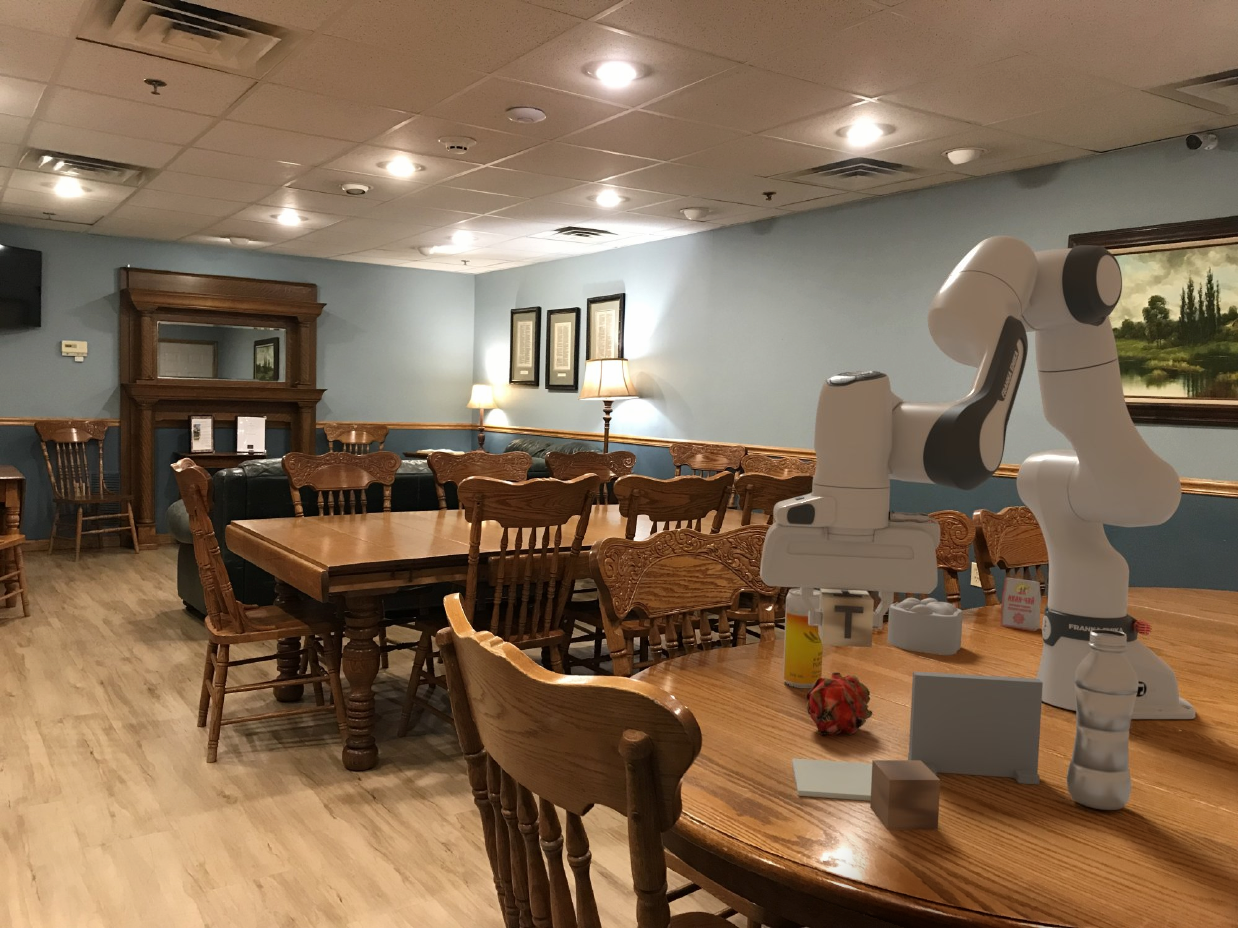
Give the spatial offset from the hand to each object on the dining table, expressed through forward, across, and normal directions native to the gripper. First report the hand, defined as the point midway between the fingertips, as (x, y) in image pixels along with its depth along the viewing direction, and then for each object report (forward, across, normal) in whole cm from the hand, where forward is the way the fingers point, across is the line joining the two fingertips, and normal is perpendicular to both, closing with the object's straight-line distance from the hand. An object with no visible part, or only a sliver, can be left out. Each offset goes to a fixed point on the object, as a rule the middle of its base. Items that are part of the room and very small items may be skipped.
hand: (844, 626), depth 112 cm
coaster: (+19, 0, 0) cm, 19 cm away
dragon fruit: (+19, -2, -18) cm, 26 cm away
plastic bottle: (+19, -29, +2) cm, 35 cm away
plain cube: (+19, -6, +9) cm, 22 cm away
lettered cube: (+2, 0, 0) cm, 2 cm away
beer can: (+19, +1, -40) cm, 44 cm away
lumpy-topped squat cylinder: (+19, -24, -70) cm, 76 cm away
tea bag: (+19, -48, -91) cm, 105 cm away
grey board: (+19, -17, -6) cm, 26 cm away
